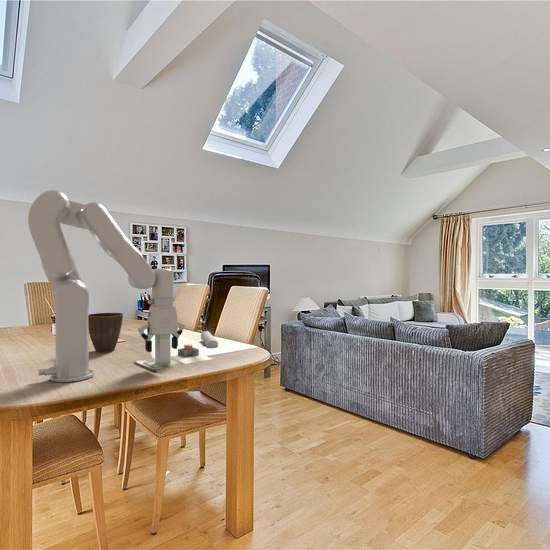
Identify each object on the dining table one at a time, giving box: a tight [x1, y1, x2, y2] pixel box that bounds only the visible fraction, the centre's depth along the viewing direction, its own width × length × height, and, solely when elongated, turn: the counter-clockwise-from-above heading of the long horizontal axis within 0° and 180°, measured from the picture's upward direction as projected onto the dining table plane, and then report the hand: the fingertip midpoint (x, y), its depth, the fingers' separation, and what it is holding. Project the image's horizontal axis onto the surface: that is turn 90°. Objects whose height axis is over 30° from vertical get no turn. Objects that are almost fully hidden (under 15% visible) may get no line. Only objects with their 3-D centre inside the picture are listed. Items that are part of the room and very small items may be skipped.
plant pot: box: [88, 312, 124, 354], centre depth 169 cm, size 15×15×16 cm
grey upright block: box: [154, 334, 171, 365], centre depth 140 cm, size 4×4×11 cm
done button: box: [183, 344, 193, 350], centre depth 155 cm, size 3×3×2 cm
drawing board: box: [133, 346, 215, 374], centre depth 146 cm, size 25×17×4 cm
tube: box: [200, 330, 219, 348], centre depth 183 cm, size 5×5×25 cm
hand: (161, 350), depth 140 cm, fingers open, 9 cm apart
